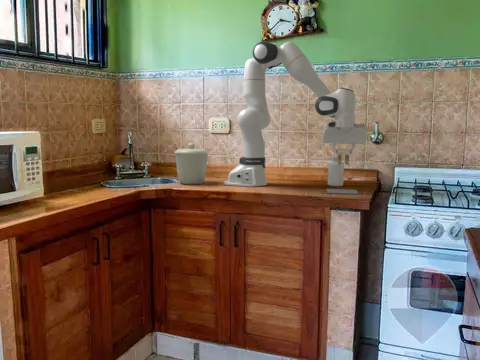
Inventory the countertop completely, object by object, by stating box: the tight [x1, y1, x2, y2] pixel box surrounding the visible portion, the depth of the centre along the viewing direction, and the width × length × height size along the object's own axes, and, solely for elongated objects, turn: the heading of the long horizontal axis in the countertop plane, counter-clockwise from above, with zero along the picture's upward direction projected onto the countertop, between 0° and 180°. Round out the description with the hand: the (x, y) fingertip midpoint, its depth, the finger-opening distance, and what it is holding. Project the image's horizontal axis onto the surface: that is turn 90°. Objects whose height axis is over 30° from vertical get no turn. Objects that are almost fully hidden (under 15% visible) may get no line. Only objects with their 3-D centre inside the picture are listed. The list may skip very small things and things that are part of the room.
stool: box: [337, 147, 351, 166], centre depth 214 cm, size 8×5×7 cm, turn 171°
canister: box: [173, 142, 210, 186], centre depth 238 cm, size 18×18×21 cm
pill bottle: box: [327, 155, 345, 187], centre depth 237 cm, size 8×8×15 cm
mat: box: [326, 188, 359, 195], centre depth 216 cm, size 14×12×1 cm
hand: (343, 153), depth 214 cm, fingers closed on stool, 5 cm apart
